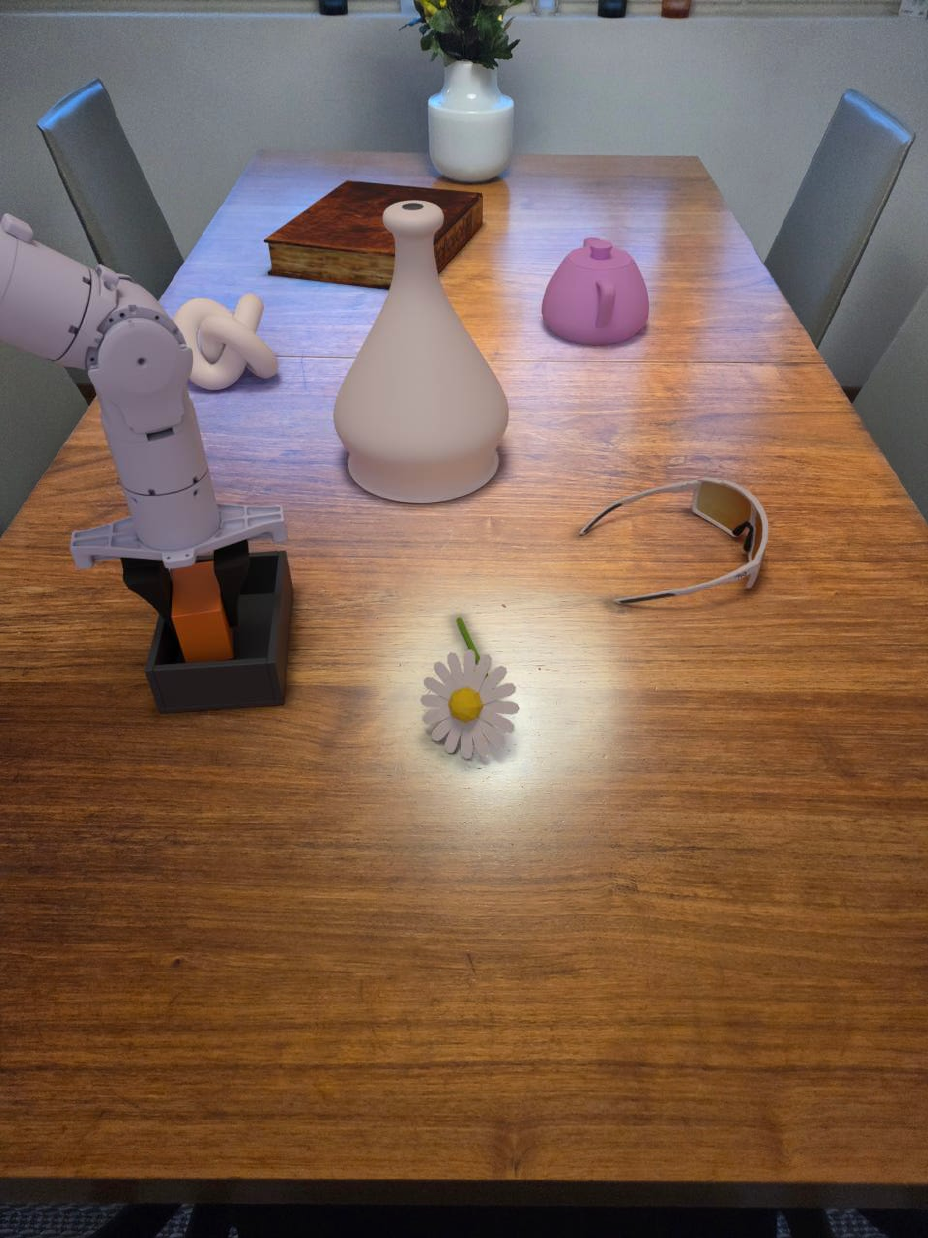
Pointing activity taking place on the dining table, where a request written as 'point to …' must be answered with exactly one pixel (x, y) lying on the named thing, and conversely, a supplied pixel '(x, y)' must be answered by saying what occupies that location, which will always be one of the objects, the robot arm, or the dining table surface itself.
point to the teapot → (596, 295)
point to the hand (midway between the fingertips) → (205, 622)
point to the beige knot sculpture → (225, 341)
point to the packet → (200, 614)
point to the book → (365, 233)
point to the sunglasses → (723, 509)
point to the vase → (419, 383)
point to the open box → (255, 648)
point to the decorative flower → (469, 702)
